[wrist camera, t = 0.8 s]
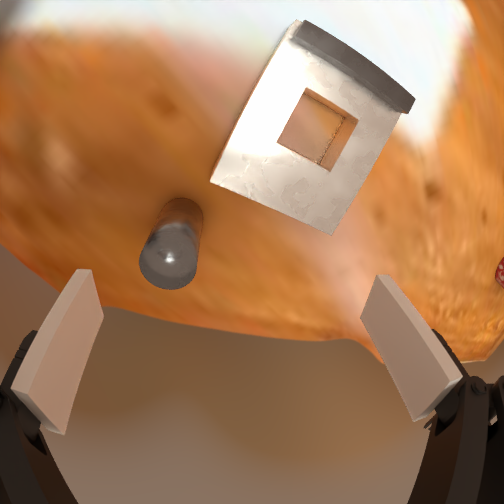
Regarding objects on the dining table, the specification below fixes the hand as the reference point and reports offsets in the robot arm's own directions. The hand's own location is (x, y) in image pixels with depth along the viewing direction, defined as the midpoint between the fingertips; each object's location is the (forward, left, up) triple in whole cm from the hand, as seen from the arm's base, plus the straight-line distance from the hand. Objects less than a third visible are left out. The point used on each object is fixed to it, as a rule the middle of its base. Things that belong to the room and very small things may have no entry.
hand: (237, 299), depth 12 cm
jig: (+5, +9, -20) cm, 22 cm away
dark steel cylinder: (-3, -6, -20) cm, 21 cm away
